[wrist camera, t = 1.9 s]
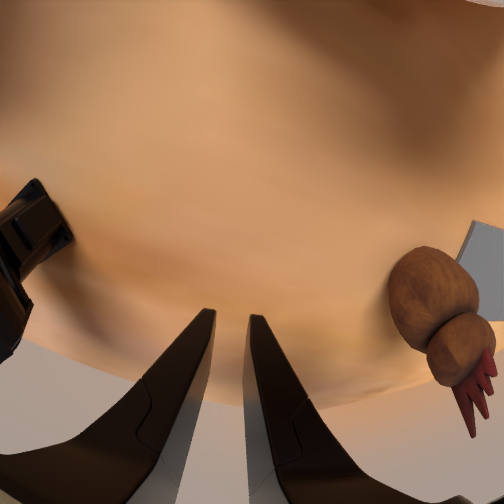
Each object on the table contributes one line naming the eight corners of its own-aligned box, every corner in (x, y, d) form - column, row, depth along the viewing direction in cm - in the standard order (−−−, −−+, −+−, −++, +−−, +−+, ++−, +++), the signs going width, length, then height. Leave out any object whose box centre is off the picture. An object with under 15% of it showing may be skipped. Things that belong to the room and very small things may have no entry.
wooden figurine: (407, 306, 24) (465, 448, 12) (366, 284, 23) (424, 454, 10) (454, 252, 21) (545, 386, 8) (417, 221, 20) (530, 377, 7)
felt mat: (425, 317, 25) (427, 320, 25) (473, 220, 19) (476, 222, 19) (508, 317, 26) (510, 320, 25) (548, 245, 20) (550, 247, 20)
